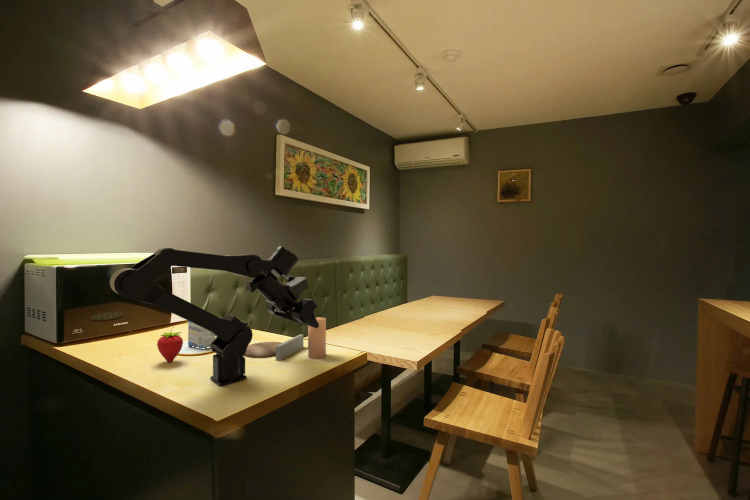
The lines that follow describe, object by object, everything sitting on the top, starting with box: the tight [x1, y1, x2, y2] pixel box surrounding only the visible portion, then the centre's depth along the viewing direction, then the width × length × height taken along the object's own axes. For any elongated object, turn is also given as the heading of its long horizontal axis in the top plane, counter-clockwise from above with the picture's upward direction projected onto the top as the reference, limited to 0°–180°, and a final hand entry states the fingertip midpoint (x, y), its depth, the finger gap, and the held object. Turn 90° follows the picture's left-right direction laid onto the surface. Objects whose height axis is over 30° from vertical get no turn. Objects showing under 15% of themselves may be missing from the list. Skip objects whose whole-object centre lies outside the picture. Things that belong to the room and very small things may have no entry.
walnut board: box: [243, 341, 282, 359], centre depth 109 cm, size 14×14×1 cm
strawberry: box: [156, 326, 184, 364], centre depth 98 cm, size 6×8×10 cm
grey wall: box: [275, 334, 304, 361], centre depth 106 cm, size 14×1×4 cm, turn 163°
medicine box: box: [187, 320, 216, 348], centre depth 114 cm, size 8×4×9 cm, turn 62°
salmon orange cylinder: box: [307, 316, 327, 360], centre depth 104 cm, size 5×5×11 cm
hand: (308, 324), depth 102 cm, fingers open, 9 cm apart
